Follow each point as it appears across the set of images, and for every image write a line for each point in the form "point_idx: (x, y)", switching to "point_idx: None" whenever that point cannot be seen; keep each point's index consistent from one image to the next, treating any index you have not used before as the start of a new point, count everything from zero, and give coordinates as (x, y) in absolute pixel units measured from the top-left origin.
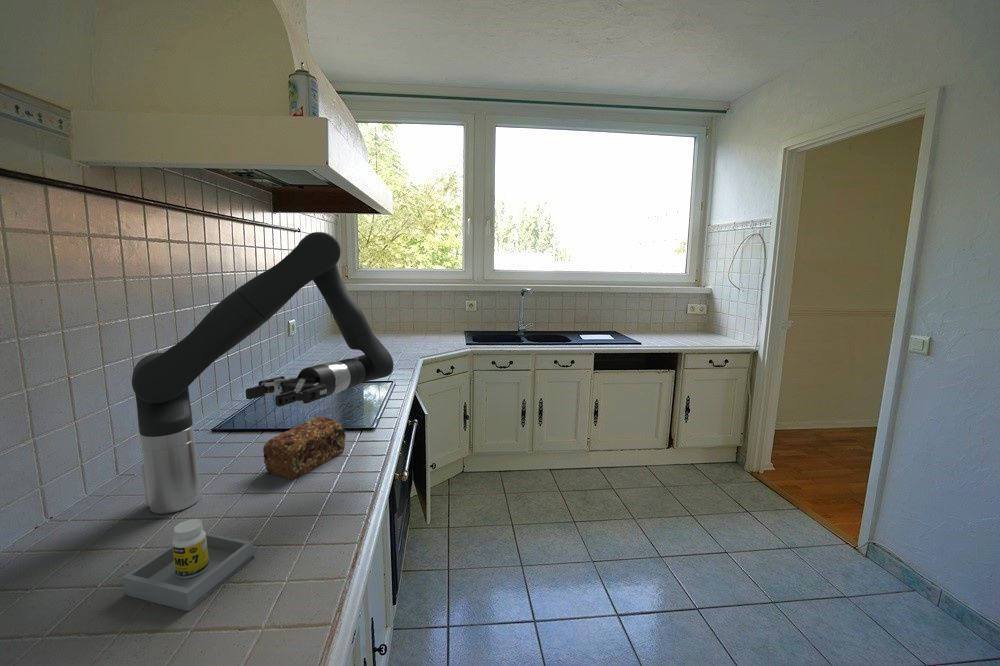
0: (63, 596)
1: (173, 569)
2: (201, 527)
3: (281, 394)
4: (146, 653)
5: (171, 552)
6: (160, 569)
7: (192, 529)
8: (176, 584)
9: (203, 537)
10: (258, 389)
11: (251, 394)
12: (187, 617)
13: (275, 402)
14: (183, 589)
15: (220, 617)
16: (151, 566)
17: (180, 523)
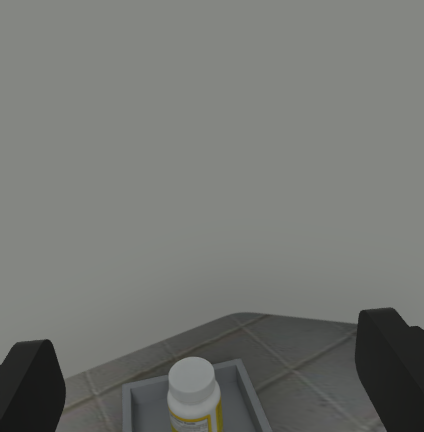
0: (304, 347)
1: (230, 425)
2: (172, 391)
3: (14, 369)
4: (117, 361)
5: (257, 422)
6: (249, 415)
7: (170, 371)
8: None
9: (169, 405)
10: (406, 395)
11: (369, 361)
12: (120, 402)
13: (57, 370)
14: (133, 385)
15: (73, 423)
16: (245, 393)
17: (210, 369)
